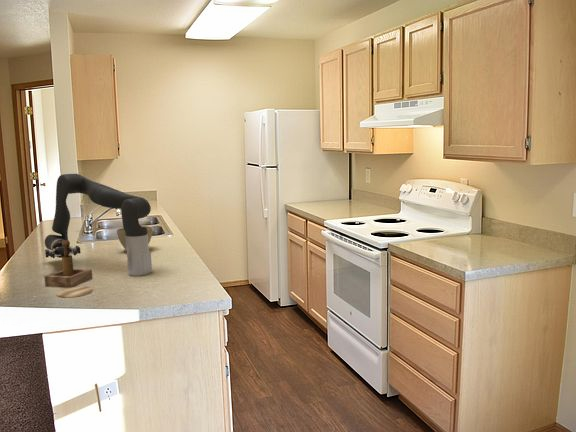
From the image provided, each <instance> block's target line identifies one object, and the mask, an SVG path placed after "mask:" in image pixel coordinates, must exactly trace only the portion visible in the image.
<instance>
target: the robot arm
mask: <svg viewBox="0 0 576 432" xmlns="http://www.w3.org/2000/svg"><path fill="white" fill-rule="evenodd" d="M55 188H56V189H55V190H56V191H55V209H54V210H55V213H54V217H53V222H52V227H51V230H52V231H53V232H54V233H57V234H48V235H47V236H45V239H44V247H45V248H46V249H45V250H44V252H45V258H49V257H50V258H52V259H55V258H60V259H62V257H63V256H65V254H64V247H63V245H62V241H63V240H69V236H68V235H69V234H68V233H69V232H68V230H69V226H70V221H71V213H70V210H69V207H68V205H67V199H68V196H69V195H70V194H71V195H72V194H83V195H85V196H88V198H89V199H90V201H91V202H92V203H94V204H96V205H99V206H101V207H104V208H109V209H118V210H119V209H120V213H121V221H122V228H124V231H125V234H126V248H127V250H126V258H127V261H126V262H127V268H128V269H127V271H128V275H130V276H135V277H137V276H139V277H140V276H146V275H148V274H151V273H153V264H152V252H151V250H149V249H150V247H149V244H148V232H147V228H146V227H143V226H144V225H141V224H140V221H139V219H143V218H146V217H148V216H149V215H150V213H151V211H152V208H151V205H150V203H149V201H148V200H147V199H145V198H144V197H141V196H137V195H132V194H129V193H125V192H123V191H120V190H118V189H115V188H113V187H110V186H108V185H105V184H104V183H103V184H101V182H100V183H99V182H96V181H93V180H91V179H89V178H87V177H86V176H84V175H82V174H79V173H64V174H63V173H62V174H61V175H59V176H58V177H57V182H56V187H55ZM68 250H69V255H72V256H77V255H78V254H81V247H80V246H79V245H75V246H74V247H73V246H71V245H69V247H68Z"/></svg>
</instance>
